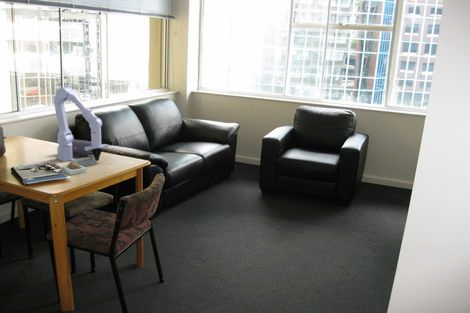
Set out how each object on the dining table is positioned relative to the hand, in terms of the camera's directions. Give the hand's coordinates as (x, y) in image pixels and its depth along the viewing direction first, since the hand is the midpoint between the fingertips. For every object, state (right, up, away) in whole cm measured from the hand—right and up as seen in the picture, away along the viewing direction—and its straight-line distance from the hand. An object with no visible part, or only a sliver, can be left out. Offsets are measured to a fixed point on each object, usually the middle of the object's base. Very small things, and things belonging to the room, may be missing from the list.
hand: (96, 160), depth 276 cm
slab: (-6, -3, -6) cm, 9 cm away
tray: (-6, -6, -21) cm, 23 cm away
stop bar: (-18, -5, -19) cm, 27 cm away
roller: (-7, -5, -21) cm, 23 cm away
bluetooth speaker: (-15, +3, +13) cm, 20 cm away
